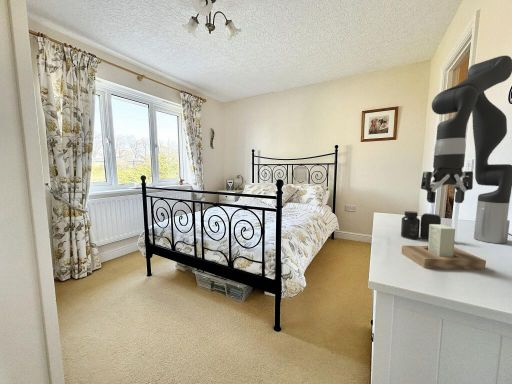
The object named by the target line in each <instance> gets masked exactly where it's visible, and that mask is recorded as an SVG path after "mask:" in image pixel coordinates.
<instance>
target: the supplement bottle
mask: <svg viewBox="0 0 512 384" xmlns="http://www.w3.org/2000/svg"><path fill="white" fill-rule="evenodd" d="M418 213H419V212H418V211H414V210H413V211H412V210H404V214H403V215H404V216H403V217H402V218H401V227H400V237H402V238H403V239H409V240H418V239H419V238H420V224H421V219H420V218H418V216H419V215H418Z"/></svg>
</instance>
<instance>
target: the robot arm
mask: <svg viewBox="0 0 512 384" xmlns="http://www.w3.org/2000/svg"><path fill="white" fill-rule="evenodd" d="M466 73H467V75H466V78H465V79H464V80H462V81H461V82H459V83H458V84H456V85H455V86H451V87H449V88H447V89H445V90H442V91H441V92H439V93H438V94H437V95H436V96H434V98H433V100H432V102H431V109H432V111H433V113H435V114H437V115H439V116H440V115H447V114H452V113H453V114H454V113H455V115H454V116H453V117H451V118H449V119H446V120H444V121H441V122H440V123H439V122H438V125H437V128H436V140H435V144H434V152H433V162H432V164H433V165H432V167H433V171H423V172H422V177H421V185H420V189H421V190H425V191H426V201H427V202H428V203H431V204H435V203H436V194H437V192H436V190H437V189H438V188H440V187H442V186H443V185H444V186H446V185H448V186H449V185H451V186H452V187H454V189H455V193H454V194H455V195H454V203H457V204H462V203H464V201H465V195H466V192H467V191H469V190H473V185H474V182H473V181H474V179H475V182H476V184H478V185H479V186H488V187H489V186H490V187H497V189H496V190H494V191H491V192H490V191H489V192H486V193H485V192H484V193H480V194H479V195H478V196H477V205H476V213H475V222H474V223H475V224H474V231H473V232H474V233H473V239H475V240H478V241H481V242H486V243H493V244H504V243H508V238H509V237H508V236H509V230H510V220H509V218H508V217H509V209H510V199H511V195H512V164H508V163H507V164H501V163H499V164H498V163H496V164H495V163H494V164H489V162H488V161H489V158H490V155H491V154H492V153H493V151H494V150H495V149H496V148H497V147H498V145H500V144H501V143H502V141H503V140H504V138H505V137H506V136H507V133H508V125H507V124H508V122H507V121H508V120H507V116H506V113H504V112H503V111H502V110H501V109H500V108H499V107H497V106H496V105H495V104H493V103H492V102H491V101H490V100H489V99H488V97H487V96H486V93H485V91H487V90H489V89H491V88H492V87H495V86H496V85H498V84H501V83H504V82H505V81H507V80H508V79H509V78H510V77H511V75H512V58H511V56H510V55H499V56H497V57H493V58H490V59H487V60H484V61H481V62H476V63H475V64H472V65H471V66H469V68H468V70H467V72H466ZM471 114H472V116H471ZM470 117H472V134H473V142H474V143H473V144H474V152H475V153H474V154H475V158H474V159H475V161H474V162H475V163H474V172H473V171H471V170H469V171H468V170H465V171H463V168H464V167H465V158H466V148H467V144H466V137H467V136H466V133H467V127H468V122H469V119H470ZM432 178H433V179H432ZM461 178H462V179H461Z"/></svg>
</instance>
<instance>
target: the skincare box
mask: <svg viewBox="0 0 512 384" xmlns="http://www.w3.org/2000/svg"><path fill="white" fill-rule="evenodd" d="M455 236H456V228H454V227H451V226H448V225H446V224H442V223H441V224H430V225H429V239H428V245H427V246H428V251H430V252H432V253H434V254H436V255H437V256H439V257H453V255H454V247H455Z"/></svg>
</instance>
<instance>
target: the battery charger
mask: <svg viewBox="0 0 512 384" xmlns="http://www.w3.org/2000/svg"><path fill="white" fill-rule="evenodd" d="M430 224H442V217H441V215H439V214H436V213H427V212H425V213H423V214H421V217H420V228H419V238H421V239H422V238H423V239H428V240H429V225H430Z"/></svg>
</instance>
